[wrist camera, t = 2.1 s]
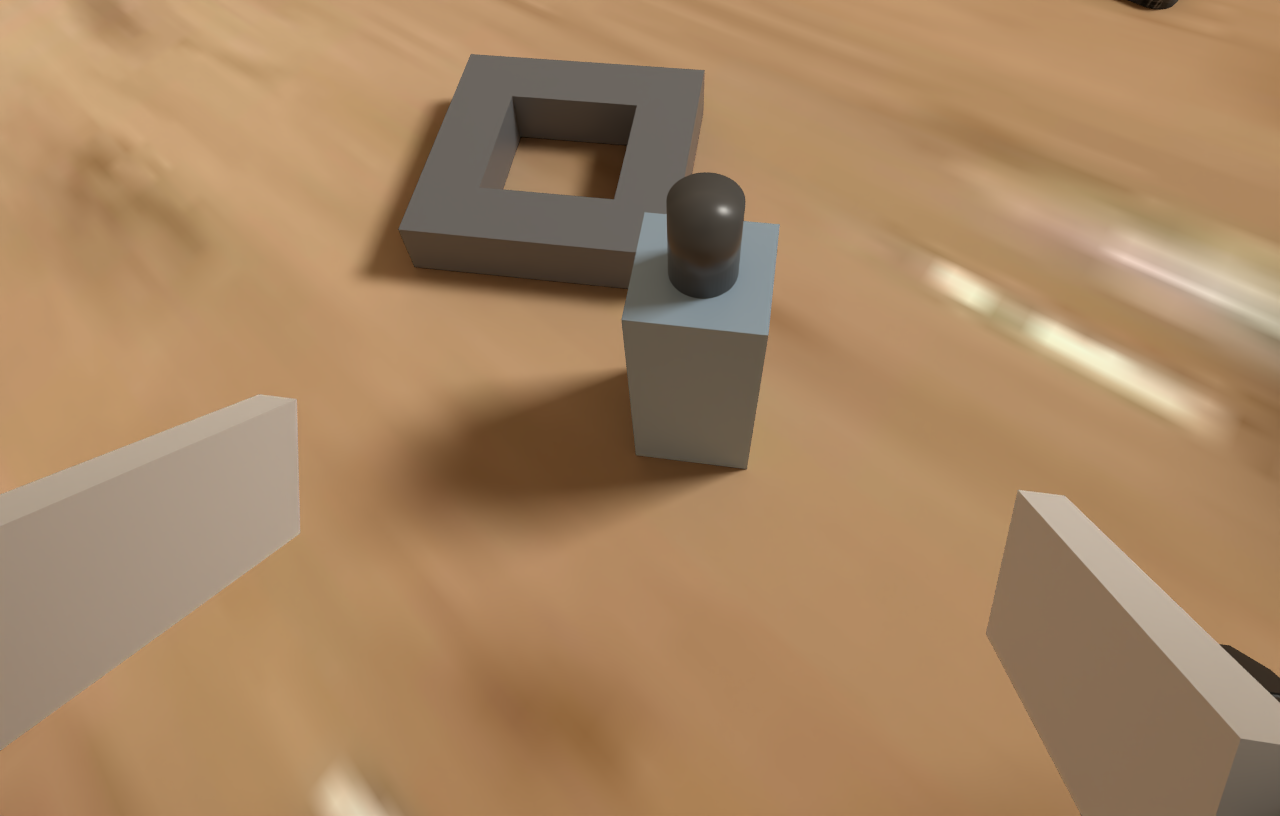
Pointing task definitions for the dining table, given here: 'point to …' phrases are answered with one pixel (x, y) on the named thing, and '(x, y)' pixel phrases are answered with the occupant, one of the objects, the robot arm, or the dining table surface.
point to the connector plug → (698, 324)
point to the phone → (1155, 3)
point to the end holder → (539, 222)
